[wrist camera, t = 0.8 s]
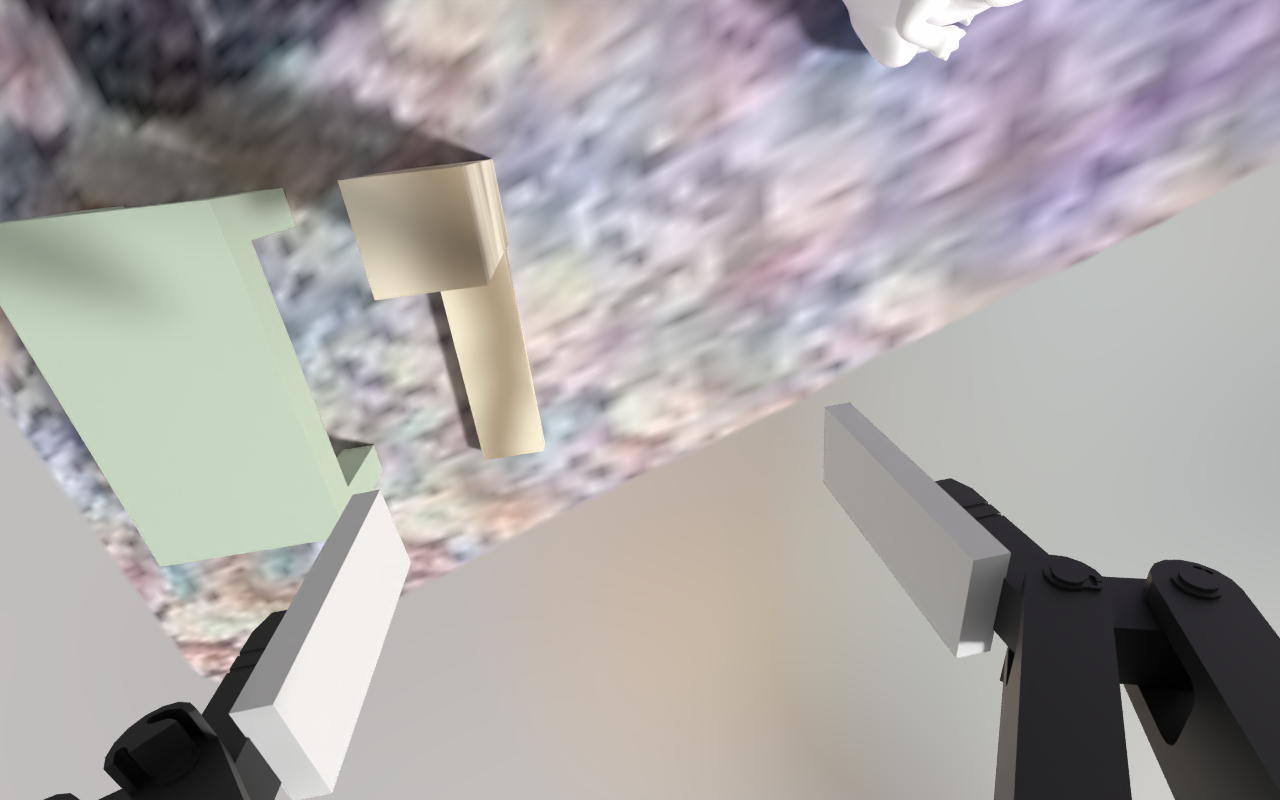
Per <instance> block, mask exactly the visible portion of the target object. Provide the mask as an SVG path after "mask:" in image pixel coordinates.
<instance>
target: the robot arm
mask: <svg viewBox="0 0 1280 800" xmlns="http://www.w3.org/2000/svg"><path fill="white" fill-rule="evenodd" d="M824 434H825V435H824V484H825V485H826V487H827V488H828V489H829V490H830V492H831V493H832V494H833V496H834V497H835V498H836V500H837V501H838V502H839V504H840V505H841V506H842V508H843V509H844V510H845V512H846V513H847V514H848V516H849V517H850V518H851V520H852V521H853V522H854V523H855V525H856V526H857V528H858V529H859V530H860V532H861V533H862V534H863V536H864V537H865V538H866V540H867V541H868V542H869V543H870V545H871V546H872V547H873V549H874V550H875V551H876V553H877V554H878V555H879V557H880V558H881V559H882V561H883V562H884V563H885V565H886V566H887V567H888V568H889V570H890V571H891V573H892V574H893V575H894V577H895V578H896V579H897V581H898V582H899V583H900V585H901V586H902V587H903V589H904V590H905V591H906V593H907V594H908V595H909V596H910V598H911V599H912V600H913V602H914V603H915V604H916V606H917V607H918V608H919V610H920V611H921V612H922V614H923V615H924V616H925V618H926V619H927V620H928V622H929V623H930V624H931V626H932V627H933V628H934V630H935V631H936V632H937V634H938V635H939V636H940V638H941V639H942V640H943V642H944V643H945V644H946V645H947V647H948V648H949V649H950V651H951V652H952V653H953V655H954V656H955V657H956V658H959V657H964V656H968V655H973V654H978V653H982V652H987V651H990V648H991V644H992V639H993V635H994V631H995V632H996V633H997V634H998V635H999V636H1000V638H1001V639H1002V640H1003V641H1004V642H1005V643H1006V645H1007V646H1008V648H1007V652H1006V656H1005V660H1004V665H1003V669H1002V673H1001V678H1000V681H1002V682H1003V693H1002V706H1001V718H1000V731H999V743H998V755H997V768H996V780H995V793H994V800H1132V797H1131V788H1130V778H1129V768H1128V759H1127V750H1126V740H1125V730H1124V721H1123V711H1122V702H1121V693H1120V684H1124V686H1125V688H1126V691H1127V693H1128V695H1129V697H1130V700H1131V702H1132V704H1133V707H1134V709H1135V711H1136V713H1137V715H1138V718H1139V720H1140V722H1141V724H1142V727H1143V729H1144V731H1145V733H1146V736H1147V738H1148V740H1149V742H1150V745H1151V747H1152V749H1153V751H1154V753H1155V756H1156V758H1157V760H1158V762H1159V765H1160V767H1161V769H1162V771H1163V774H1164V776H1165V778H1166V780H1167V783H1168V785H1169V787H1170V789H1171V792H1172V794H1173V796H1174V798H1175V800H1280V638H1279V636H1277V634H1276V633H1275V631H1274V630H1273V629H1272V628H1271V626H1270V625H1269V623H1268V622H1267V621H1266V620H1265V618H1264V617H1263V616H1262V614H1261V613H1260V612H1259V610H1258V609H1257V608H1256V606H1255V605H1254V604H1253V603H1252V601H1251V600H1250V599H1249V597H1248V596H1247V595H1246V594H1245V592H1244V591H1243V590H1242V589H1241V588H1240V587H1239V586H1238V585H1237V584H1236V583H1235V582H1234V581H1233V580H1232V579H1230V578H1228V577H1227V576H1225V575H1223V574H1221V573H1220V572H1218V571H1216V570H1214V569H1211V568H1208V567H1206V566H1203V565H1200V564H1198V563H1193V562H1188V561H1183V560H1163V561H1160V562H1157V563H1154V565H1153V566H1152V568H1151V569H1150V571H1149V574H1148V577H1147V579H1135V578H1116V577H1103V576H1101V575H1100V574H1099V573H1098V572H1097V571H1096V570H1095V569H1093V568H1091V567H1089V566H1088V565H1086V564H1084V563H1082V562H1080V561H1077V560H1074V559H1071V558H1068V557H1063V556H1057V555H1049V554H1048V553H1046V552H1045V551H1044V550H1043V549H1042V548H1041V547H1039V546H1038V545H1037V544H1036V543H1035V542H1034V541H1032V540H1031V539H1030V538H1029V537H1028V536H1027V535H1026V534H1024V533H1023V532H1022V531H1021V530H1020V529H1018V528H1017V527H1016V526H1015V525H1014V524H1013V523H1012V522H1010V521H1009V520H1008V519H1007V518H1006V517H1005V516H1001V514H1000V512H999V511H998V510H997V509H995V508H994V507H993V506H992V505H989V504H988V502H987V501H986V500H985V499H984V498H983V497H981V496H980V495H979V494H978V493H977V492H976V491H974V490H973V489H972V488H970V487H968V486H966V485H964V484H962V483H960V482H957V481H955V480H953V479H945V480H940V481H933V480H932V479H931V478H930V477H929V476H928V475H927V474H926V473H925V472H924V471H923V470H922V469H921V468H919V467H918V466H917V465H916V464H915V463H914V462H913V461H912V460H911V459H910V458H909V457H908V456H907V455H906V454H904V453H903V452H902V451H901V450H900V449H899V448H898V447H897V446H896V445H895V444H894V443H893V442H892V441H890V440H889V439H888V438H887V437H886V436H885V435H884V434H883V433H882V432H881V431H880V430H878V429H877V427H875V426H874V425H873V424H872V423H871V422H870V421H869V420H868V419H867V418H866V417H864V415H862V414H861V413H860V412H859V411H858V410H857V409H856V408H855V407H854V406H853V405H852V404H851V403H844V404H839V405H833V406H828V407H825V429H824ZM410 564H411V562H410V560H409V557H408V555H407V552H406V550H405V548H404V545H403V543H402V541H401V538H400V536H399V533H398V531H397V529H396V526H395V524H394V522H393V519H392V517H391V515H390V512H389V510H388V507H387V505H386V503H385V500H384V498H383V496H382V493H381V491H380V490H375V491H370V492H365V493H359V494H354V495H352V497H351V499H350V500H349V502H348V504H347V506H346V507H345V509H344V511H343V513H342V514H341V516H340V518H339V520H338V522H337V523H336V525H335V527H334V529H333V530H332V532H331V534H330V536H329V537H328V539H327V541H326V543H325V545H324V546H323V548H322V550H321V552H320V553H319V555H318V557H317V559H316V560H315V562H314V564H313V566H312V567H311V569H310V571H309V573H308V575H307V576H306V578H305V580H304V582H303V583H302V585H301V587H300V589H299V590H298V592H297V594H296V596H295V598H294V599H293V601H292V603H291V605H290V606H289V608H288V610H284V611H279V612H274V613H271V614H270V615H269V616H268V617H267V618H266V619H265V620H264V621H263V622H262V623H261V624H260V625H259V626H258V627H257V628H256V629H255V630H254V631H253V632H252V633H251V635H250V637H249V638H248V640H247V642H246V643H245V645H244V646H243V648H242V650H241V651H240V656H238V657H237V658H236V660H235V661H234V663H233V664H232V666H231V668H230V673H227V674H226V676H225V678H224V679H223V681H222V682H221V684H220V686H219V687H218V689H217V691H216V692H215V694H214V696H213V697H212V699H211V700H210V702H209V704H208V705H207V707H206V709H205V710H204V712H203V714H202V715H201V714H200V713H199V711H198V710H197V709H196V708H195V707H194V706H193V705H192V704H191V703H186V702H177V703H173V704H170V705H166V706H163V707H161V708H159V709H157V710H155V711H153V712H151V713H149V714H147V715H146V716H144V717H143V718H141V719H140V720H139V721H137V722H136V723H135V724H133V725H132V726H131V727H130V728H128V729H127V730H126V731H125V732H124V734H122V735H121V736H120V738H119V739H118V740H117V741H116V742H115V743H114V744H113V746H112V748H111V749H110V751H109V753H108V754H107V756H106V757H105V763H104V770H105V771H106V772H107V773H108V774H109V775H110V777H112V779H113V780H114V781H115V782H116V783H117V784H118V785H119V786H120V787H121V788H122V789H120V790H118V791H116V792H114V793H112V794H110V795H107V796H105V797H103V798H101V799H99V800H274V799H275V797H276V794H277V792H278V790H279V787H280V785H281V786H282V787H283V788H284V790H285V791H286V793H287V794H288V795H289V797H290V798H291V799H292V800H302V799H307V798H311V797H316V796H321V795H325V794H330V793H332V792H333V789H334V786H335V783H336V780H337V777H338V774H339V772H340V769H341V766H342V763H343V760H344V757H345V754H346V751H347V748H348V745H349V742H350V739H351V736H352V733H353V730H354V728H355V724H356V721H357V719H358V716H359V713H360V710H361V707H362V704H363V701H364V698H365V695H366V693H367V690H368V687H369V684H370V681H371V678H372V675H373V672H374V669H375V666H376V663H377V660H378V657H379V655H380V651H381V649H382V646H383V643H384V640H385V637H386V634H387V631H388V628H389V625H390V622H391V619H392V616H393V613H394V611H395V608H396V605H397V602H398V599H399V596H400V593H401V590H402V587H403V584H404V581H405V578H406V576H407V573H408V570H409V567H410ZM44 800H79V799H78V798H77V797H75V796H74V795H72V794H71V793H67V794H57V795H54V796H52V797H49V798H47V799H44Z"/></svg>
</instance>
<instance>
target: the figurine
mask: <svg viewBox="0 0 1280 800" xmlns="http://www.w3.org/2000/svg"><path fill="white" fill-rule="evenodd" d="M842 1H843V2H844V4H845V5H846V7H847V9H848V11H849V15H850V21H851V24H852V27H853V28H854V30H855V32H856V34H857V35H858V37H859V38H860V40H861V41H862V43H863V44H864V46H865V47H866V49H867V50H868V52H869V53H870V54H871V56H872V57H873V58H874V59H875V60H876V61H877V62H878V63H880V64H881V65H884V66H887V67H900V66H903V65H905V64H907V63H908V62H909V61H910V60H911V59H912V58H913V57H914V55H915V54H916V53H920V52H926V51H930V52H931V53H932V54H933V55H934V56H935V57H937V58H941V59H942V60H945V61H947V58H948V57H949V54H950V53H951V52H952V51H954V50H956V49H958V46H959V43H958V41H959V39H960V38H962V37H963V36H964V34H966V32H965V31H964V30H963V29H959V28H958V27H957V26H955V25H950V26H945V25H949V24H952V23H956V22H960V23H962V24H964V25H965V26H968V25H969V24H970V22H971V20H972V19H973V17H974V15H976V14H979V13H981V12H982V11H984V10H986V9H988V8H990V7H991V6H993V7H1003V6H1008V5H1012V4H1014V3H1017V2H1020V1H1022V0H842ZM940 26H945V27H940Z"/></svg>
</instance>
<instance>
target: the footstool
mask: <svg viewBox="0 0 1280 800" xmlns="http://www.w3.org/2000/svg"><path fill="white" fill-rule="evenodd" d="M295 226H296V225H295V222H294V219H293V216H292V213H291V210H290V208H289V205H288V202H287V199H286V196H285V193H284V191H283V188H276V189H267V190H258V191H250V192H242V193H235V194H229V195H222V196H216V197H210V198H203V199H197V200H191V201H183V202H174V203H165V204H157V205H148V206H139V207H130V208H126V207H125V206H118V207H109V208H100V209H91V210H83V211H76V212H69V213H62V214H55V215H48V216H41V217H33V218H26V219H19V220H12V221H5V222H0V306H1V308H2V309H3V311H4V312H5V314H6V316H7V317H8V319H9V321H10V322H11V324H12V326H13V327H14V329H15V330H16V332H17V334H18V335H19V337H20V339H21V340H22V342H23V343H24V345H25V347H26V348H27V350H28V352H29V353H30V355H31V357H32V358H33V360H34V361H35V363H36V365H37V366H38V368H39V370H40V371H41V373H42V374H43V376H44V378H45V379H46V381H47V383H48V384H49V386H50V388H51V389H52V391H53V392H54V394H55V396H56V397H57V399H58V401H59V402H60V404H61V405H62V407H63V409H64V410H65V412H66V414H67V415H68V417H69V419H70V420H71V422H72V423H73V425H74V427H75V428H76V430H77V432H78V433H79V435H80V436H81V438H82V440H83V441H84V443H85V445H86V446H87V448H88V450H89V451H90V453H91V454H92V456H93V458H94V459H95V461H96V463H97V464H98V466H99V467H100V469H101V471H102V472H103V474H104V476H105V477H106V479H107V481H108V482H109V484H110V485H111V487H112V489H113V490H114V492H115V494H116V495H117V497H118V498H119V500H120V502H121V503H122V505H123V507H124V508H125V510H126V512H127V513H128V515H129V516H130V518H131V520H132V521H133V523H134V525H135V526H136V528H137V529H138V531H139V533H140V534H141V536H142V538H143V539H144V541H145V543H146V544H147V546H148V547H149V549H150V551H151V552H152V554H153V556H154V557H155V559H156V560H157V562H158V564H159V565H160V567H162V566H168V565H174V564H180V563H186V562H193V561H199V560H205V559H211V558H217V557H223V556H230V555H236V554H242V553H248V552H254V551H260V550H267V549H273V548H279V547H285V546H291V545H297V544H304V543H310V542H316V541H322V540H327V539H328V537H329V536H330V534H331V532H332V530H333V529H334V527H335V525H336V523H337V522H338V520H339V518H340V516H341V514H342V513H343V511H344V509H345V507H346V506H347V504H348V502H349V500H350V499H351V497H352V495H354V494H359V493H365V492H370V491H372V490H373V488H374V486H375V484H376V482H377V480H378V478H379V477H380V475H381V473H382V471H383V470H382V467H381V464H380V461H379V458H378V456H377V453H376V450H375V447H374V445H370V446H363V447H357V448H350V449H343V450H342V451H341V453H340V454H339V455H338V457H337V458H336V455H335V453H334V450H333V448H332V445H331V442H330V440H329V437H328V435H327V432H326V430H325V427H324V425H323V422H322V420H321V417H320V414H319V412H318V409H317V407H316V404H315V402H314V399H313V397H312V394H311V392H310V389H309V386H308V384H307V381H306V379H305V376H304V374H303V371H302V369H301V366H300V364H299V361H298V358H297V356H296V353H295V351H294V348H293V346H292V343H291V341H290V338H289V336H288V333H287V330H286V328H285V325H284V323H283V320H282V318H281V315H280V313H279V310H278V308H277V305H276V302H275V300H274V297H273V295H272V292H271V290H270V287H269V285H268V282H267V279H266V277H265V274H264V272H263V269H262V267H261V264H260V262H259V259H258V257H257V254H256V251H255V249H254V246H253V244H252V241H251V240H254V239H257V238H261V237H264V236H267V235H270V234H273V233H276V232H280V231H283V230H286V229H289V228H292V227H295Z"/></svg>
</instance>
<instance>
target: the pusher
mask: <svg viewBox="0 0 1280 800" xmlns="http://www.w3.org/2000/svg"><path fill="white" fill-rule="evenodd" d="M338 184H339V187H340V190H341V193H342V197H343V200H344V203H345V206H346V209H347V213H348V216H349V219H350V222H351V225H352V229H353V232H354V235H355V238H356V241H357V245H358V248H359V251H360V254H361V257H362V261H363V264H364V267H365V270H366V273H367V276H368V280H369V283H370V286H371V289H372V292H373V296H374V299H375V300H380V299H388V298H395V297H403V296H411V295H418V294H426V293H434V292H441V295H442V299H443V303H444V307H445V311H446V314H447V318H448V322H449V326H450V330H451V334H452V338H453V341H454V345H455V349H456V353H457V357H458V361H459V365H460V368H461V372H462V376H463V380H464V384H465V388H466V392H467V395H468V399H469V403H470V407H471V411H472V415H473V419H474V422H475V426H476V430H477V434H478V438H479V442H480V446H481V449H482V453H483V457H484V460H488V459H495V458H501V457H508V456H514V455H520V454H527V453H533V452H540V451H544V449H545V441H544V436H543V431H542V426H541V421H540V416H539V411H538V406H537V401H536V396H535V391H534V386H533V381H532V376H531V371H530V366H529V361H528V356H527V351H526V346H525V341H524V336H523V331H522V326H521V321H520V316H519V311H518V306H517V301H516V297H515V292H514V287H513V282H512V277H511V272H510V267H509V262H508V257H507V252H506V247H507V245H508V243H509V240H508V235H507V230H506V225H505V220H504V214H503V209H502V204H501V199H500V194H499V189H498V184H497V179H496V174H495V169H494V164H493V159H487V160H478V161H470V162H461V163H452V164H443V165H434V166H425V167H416V168H408V169H402V170H396V171H391V172H385V173H379V174H373V175H367V176H361V177H355V178H350V179H344V180H338Z"/></svg>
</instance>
